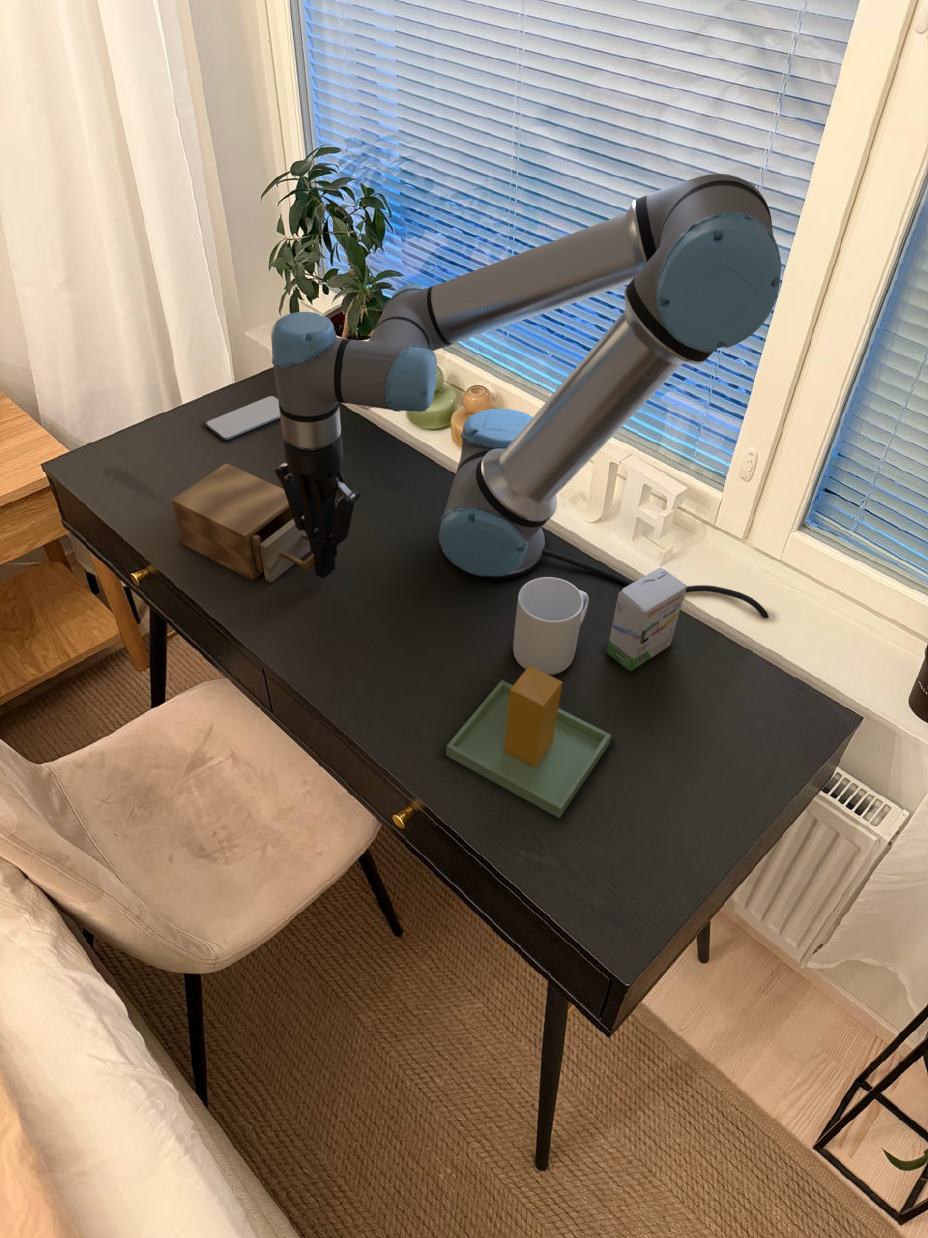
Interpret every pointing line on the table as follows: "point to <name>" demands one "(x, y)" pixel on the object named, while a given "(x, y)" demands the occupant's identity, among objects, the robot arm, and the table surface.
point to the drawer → (280, 546)
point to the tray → (540, 785)
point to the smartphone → (245, 418)
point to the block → (532, 716)
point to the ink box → (645, 618)
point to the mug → (548, 624)
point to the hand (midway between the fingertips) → (325, 571)
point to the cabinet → (227, 516)
